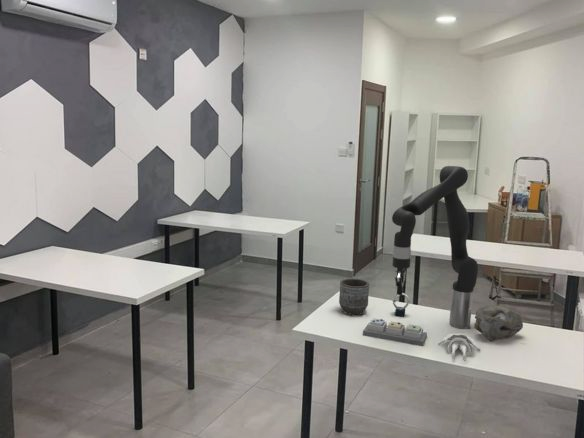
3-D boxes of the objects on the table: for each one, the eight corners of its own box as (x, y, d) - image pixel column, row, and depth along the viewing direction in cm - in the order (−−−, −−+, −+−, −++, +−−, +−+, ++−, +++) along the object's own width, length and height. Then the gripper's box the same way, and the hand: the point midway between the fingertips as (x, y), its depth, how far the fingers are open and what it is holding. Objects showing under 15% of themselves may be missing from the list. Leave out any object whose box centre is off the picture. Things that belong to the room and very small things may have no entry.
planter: (336, 314, 250) (338, 285, 247) (340, 305, 264) (342, 276, 261) (365, 318, 247) (367, 288, 244) (368, 308, 260) (370, 279, 258)
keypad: (426, 336, 227) (427, 327, 226) (422, 346, 217) (423, 336, 216) (369, 326, 237) (369, 317, 236) (362, 335, 227) (363, 325, 226)
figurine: (480, 366, 201) (479, 342, 224) (483, 345, 199) (481, 323, 223) (435, 359, 206) (438, 336, 229) (437, 338, 204) (440, 318, 228)
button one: (420, 333, 225) (420, 325, 224) (418, 338, 220) (419, 329, 220) (408, 331, 227) (409, 323, 226) (406, 335, 222) (407, 327, 222)
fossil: (466, 335, 230) (469, 303, 227) (496, 326, 242) (500, 296, 239) (494, 347, 218) (497, 314, 215) (524, 337, 230) (528, 305, 227)
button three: (384, 327, 231) (384, 319, 230) (381, 331, 226) (382, 323, 226) (373, 325, 233) (373, 317, 232) (370, 329, 228) (370, 321, 227)
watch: (392, 311, 256) (393, 290, 254) (408, 314, 254) (410, 292, 252) (390, 315, 251) (392, 294, 249) (407, 318, 249) (409, 296, 247)
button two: (401, 330, 228) (402, 322, 227) (399, 334, 223) (400, 326, 223) (390, 328, 230) (391, 320, 229) (388, 332, 225) (388, 324, 224)
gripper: (408, 260, 215) (405, 300, 218) (412, 253, 227) (410, 291, 231) (390, 258, 218) (388, 297, 221) (395, 251, 230) (393, 288, 233)
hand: (399, 294), depth 226 cm, fingers closed
